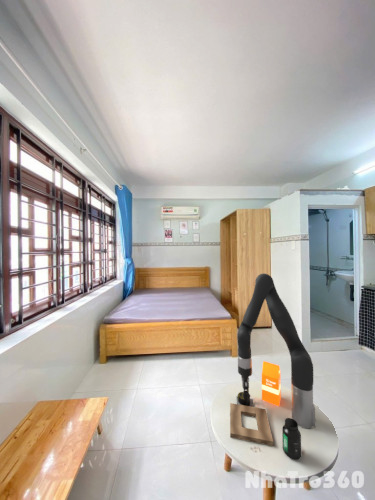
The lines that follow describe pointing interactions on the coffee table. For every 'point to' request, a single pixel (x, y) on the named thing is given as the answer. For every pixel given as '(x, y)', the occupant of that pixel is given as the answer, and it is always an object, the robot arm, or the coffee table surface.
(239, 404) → the mat
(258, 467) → the coffee table surface
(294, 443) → the supplement bottle
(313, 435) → the coffee table surface
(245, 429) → the board
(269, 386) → the orange juice
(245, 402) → the tape measure
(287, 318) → the robot arm
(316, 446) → the coffee table surface
